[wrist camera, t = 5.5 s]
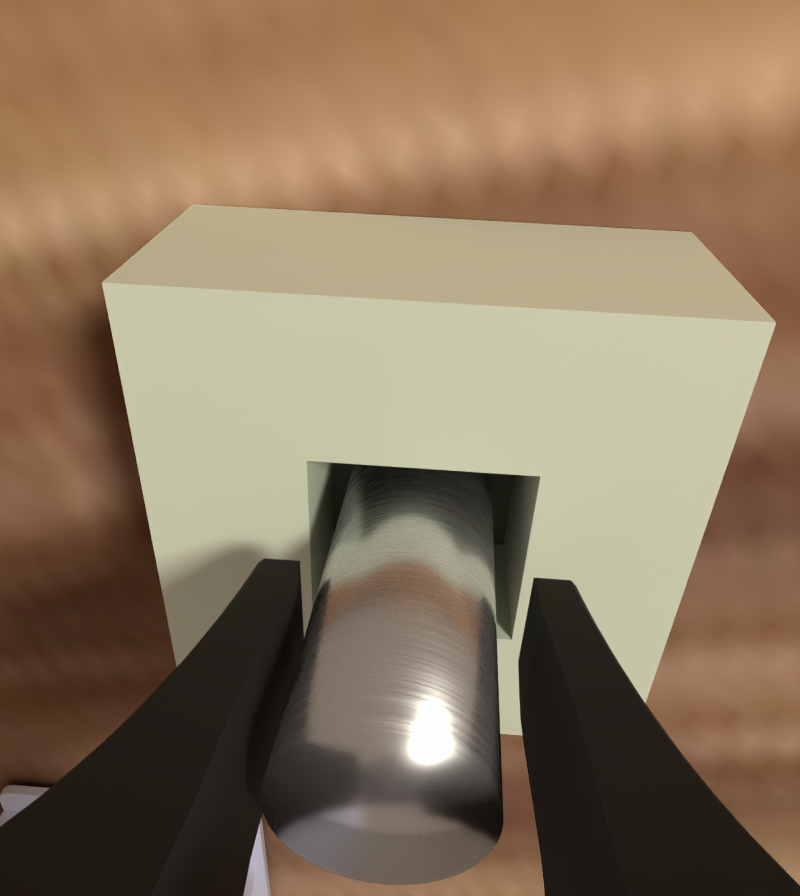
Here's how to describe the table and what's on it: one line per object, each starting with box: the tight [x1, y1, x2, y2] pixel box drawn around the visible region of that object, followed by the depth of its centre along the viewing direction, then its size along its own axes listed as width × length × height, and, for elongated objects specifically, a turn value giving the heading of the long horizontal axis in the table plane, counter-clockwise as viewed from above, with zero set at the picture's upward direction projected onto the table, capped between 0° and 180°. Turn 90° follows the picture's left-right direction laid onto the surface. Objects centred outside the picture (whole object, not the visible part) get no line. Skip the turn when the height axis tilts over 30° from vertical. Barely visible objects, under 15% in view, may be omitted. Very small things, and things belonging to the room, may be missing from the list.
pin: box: [261, 464, 503, 885], centre depth 12 cm, size 3×3×8 cm
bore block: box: [102, 204, 776, 735], centre depth 15 cm, size 10×10×4 cm
